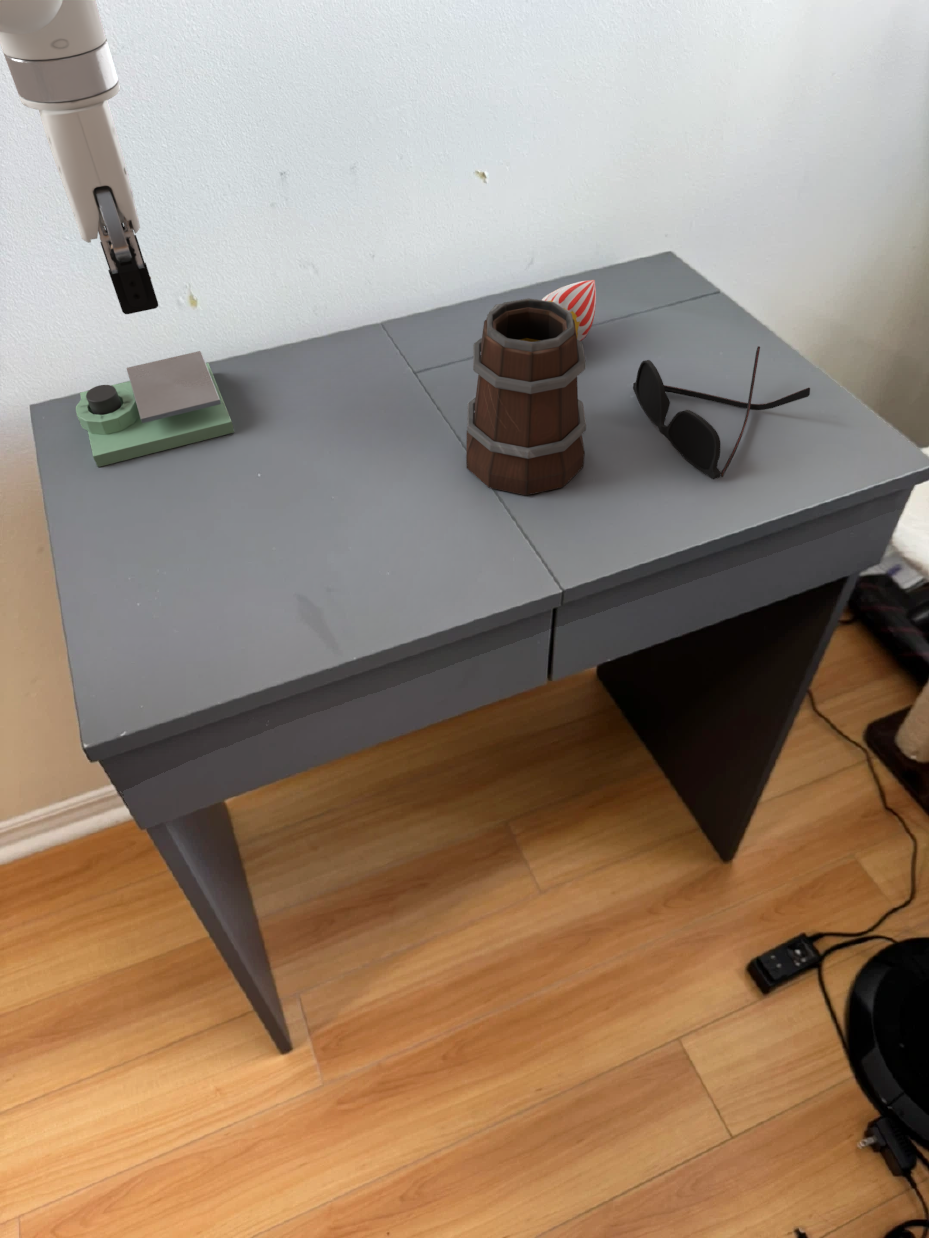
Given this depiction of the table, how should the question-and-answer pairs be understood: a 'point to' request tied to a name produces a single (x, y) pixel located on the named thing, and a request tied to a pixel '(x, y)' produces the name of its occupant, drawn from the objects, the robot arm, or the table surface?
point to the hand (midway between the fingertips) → (135, 293)
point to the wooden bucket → (526, 399)
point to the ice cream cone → (577, 304)
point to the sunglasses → (694, 417)
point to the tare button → (103, 399)
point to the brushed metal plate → (172, 386)
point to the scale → (147, 427)
